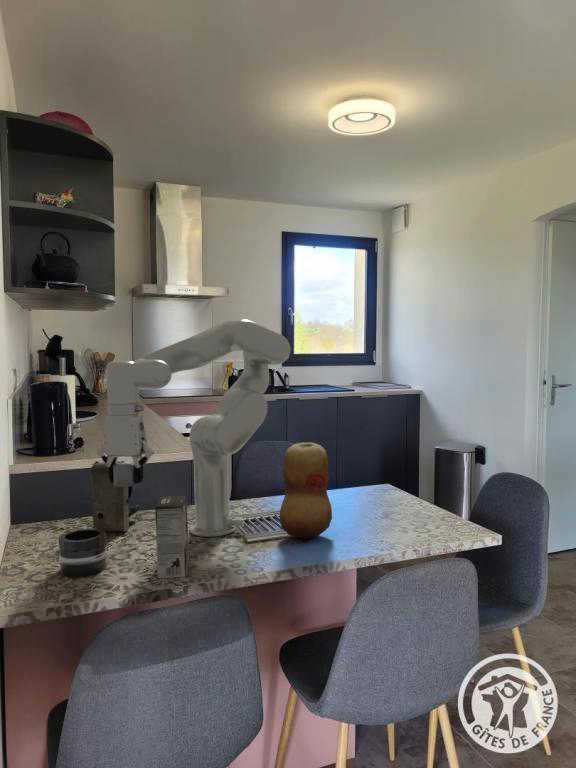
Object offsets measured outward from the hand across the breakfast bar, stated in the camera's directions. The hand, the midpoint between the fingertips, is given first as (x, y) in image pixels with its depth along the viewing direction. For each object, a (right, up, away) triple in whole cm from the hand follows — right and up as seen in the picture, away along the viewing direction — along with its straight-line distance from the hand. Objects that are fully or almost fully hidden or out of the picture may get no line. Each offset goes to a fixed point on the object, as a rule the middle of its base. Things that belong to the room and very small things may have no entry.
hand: (126, 481), depth 145 cm
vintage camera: (-8, -17, +23) cm, 30 cm away
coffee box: (+15, -18, -13) cm, 27 cm away
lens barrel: (-7, -18, -11) cm, 23 cm away
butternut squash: (+45, -16, +8) cm, 49 cm away
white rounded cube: (0, -1, 0) cm, 1 cm away
